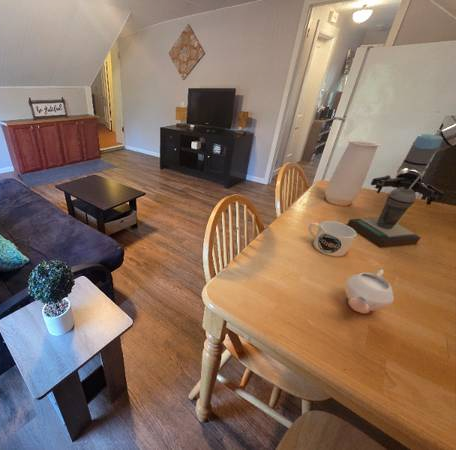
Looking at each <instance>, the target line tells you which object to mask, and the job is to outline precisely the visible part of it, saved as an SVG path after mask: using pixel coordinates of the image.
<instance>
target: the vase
mask: <svg viewBox="0 0 456 450" xmlns="http://www.w3.org/2000/svg"><path fill="white" fill-rule="evenodd" d="M347 142H348V144H347V146H346V148H345V150H344V152H343V153H342V155H341V157H340V159H339V161H338V163H337V165H336V167H335V169H334V171H333V172H332V175H331V177H330V179H329V181H328V182H327V185H326V188H325V190H324V194H325V200H326V201H327V202H328V203H331V204H333V205H336V206H341V207H346V206H349V205H350V204H351V203H352V202H354V201H356V200H357V199H358V197H359V195H360V193H361V191H362V188H363V186H364V183H365V180H366V178H367V175H368V173H369V171H370V168H371V166H372V163H373V160H374V157H375V154H376V152H377V149H378V147H380V146H382V143H380V142H378V141H376V140H375V141H374V140H371V139H370V140H369V139H364V138H363V139H362V138H350V139H347Z"/></svg>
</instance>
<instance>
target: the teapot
mask: <svg viewBox="0 0 456 450" xmlns="http://www.w3.org/2000/svg"><path fill="white" fill-rule="evenodd" d="M384 273H385V270H384V269H382V268H381V269H379V270H378V271H377V272H376V273H373V272H359V273H355V274H353V275H350V276H348V278H347V279H346V281H345V283H344V292H345V296H346V297H347V300H348V301H347V304H348V306H349V307H350V308H351V309H352V310H353V311H355V312H357V313H361V314H369V313H370V312H371V311H381V310H384V309H386V308H388V307H389V306H391V305H392V304H393V302H394V299H395V295H394V290H393V288H392V285H391V283H389V282H388V280H386V279H385V278H384V277H383V275H384Z"/></svg>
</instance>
